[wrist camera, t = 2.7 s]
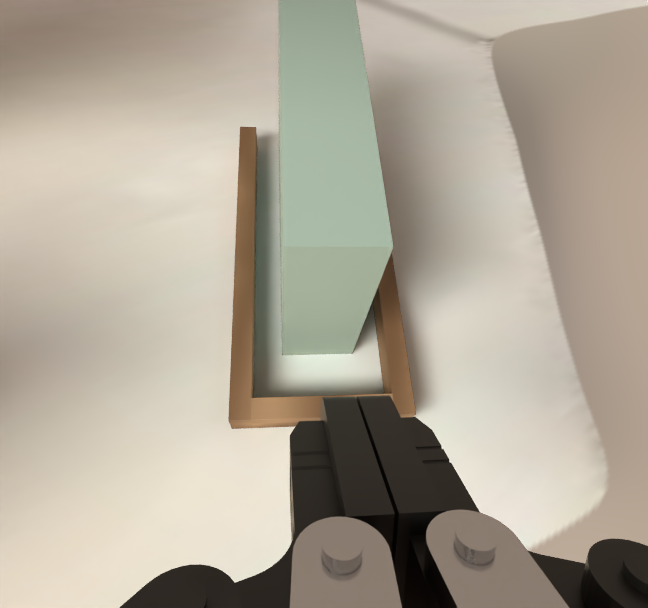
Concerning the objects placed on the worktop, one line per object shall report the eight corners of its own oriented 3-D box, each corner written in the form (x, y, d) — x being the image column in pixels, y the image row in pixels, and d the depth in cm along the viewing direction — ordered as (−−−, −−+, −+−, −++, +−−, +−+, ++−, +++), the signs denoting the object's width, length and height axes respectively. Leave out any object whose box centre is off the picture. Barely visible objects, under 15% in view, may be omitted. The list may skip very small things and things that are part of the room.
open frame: (232, 428, 26) (228, 420, 25) (242, 146, 37) (240, 126, 35) (407, 422, 27) (415, 413, 26) (368, 150, 38) (373, 130, 36)
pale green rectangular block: (281, 355, 29) (283, 246, 18) (278, 149, 37) (278, -9, 27) (352, 353, 29) (393, 246, 19) (333, 150, 38) (354, -4, 27)
